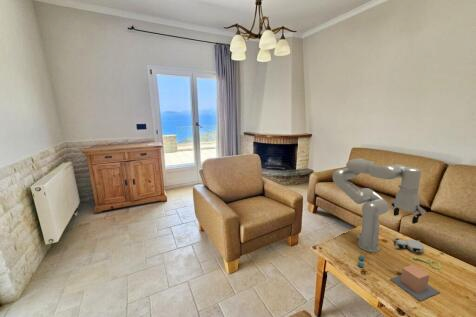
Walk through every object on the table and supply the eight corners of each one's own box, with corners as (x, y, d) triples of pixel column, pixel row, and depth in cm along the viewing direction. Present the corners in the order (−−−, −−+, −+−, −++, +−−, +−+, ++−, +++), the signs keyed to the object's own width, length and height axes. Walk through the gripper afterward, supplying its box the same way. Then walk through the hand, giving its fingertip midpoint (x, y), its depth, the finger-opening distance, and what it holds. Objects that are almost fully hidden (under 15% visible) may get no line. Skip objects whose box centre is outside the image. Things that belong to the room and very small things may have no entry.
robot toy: (395, 251, 132) (425, 257, 124) (395, 244, 131) (426, 250, 124) (392, 241, 142) (420, 246, 135) (392, 235, 142) (421, 239, 134)
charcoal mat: (389, 279, 108) (390, 278, 108) (408, 273, 112) (408, 272, 112) (420, 301, 95) (420, 300, 95) (439, 293, 99) (439, 292, 99)
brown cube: (400, 281, 106) (402, 268, 105) (410, 277, 108) (412, 264, 107) (416, 292, 99) (419, 278, 98) (427, 288, 101) (429, 274, 100)
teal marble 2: (356, 266, 119) (356, 260, 120) (360, 266, 120) (360, 260, 120) (361, 267, 116) (361, 261, 117) (365, 267, 117) (365, 261, 118)
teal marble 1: (358, 260, 124) (357, 255, 125) (362, 258, 125) (360, 253, 126) (362, 261, 122) (361, 256, 122) (366, 259, 123) (365, 254, 123)
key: (411, 258, 125) (412, 255, 124) (438, 263, 120) (438, 260, 119) (416, 265, 118) (416, 262, 118) (444, 271, 113) (444, 268, 113)
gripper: (388, 186, 118) (384, 213, 121) (422, 196, 102) (417, 227, 105) (397, 184, 120) (394, 211, 124) (432, 194, 104) (427, 225, 107)
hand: (405, 219), depth 114 cm, fingers open, 9 cm apart
